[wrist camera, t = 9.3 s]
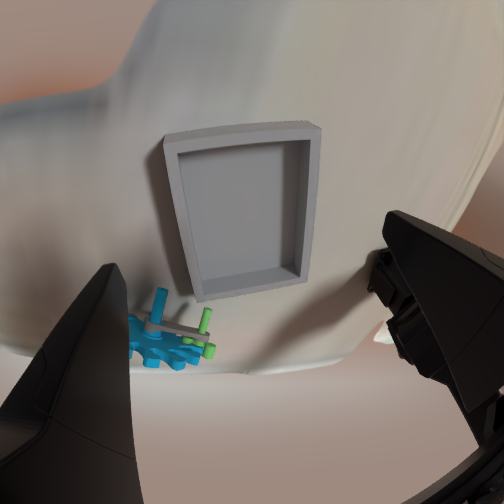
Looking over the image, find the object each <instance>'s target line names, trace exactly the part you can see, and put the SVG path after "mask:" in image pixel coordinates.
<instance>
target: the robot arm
mask: <svg viewBox="0 0 504 504" xmlns="http://www.w3.org/2000/svg"><path fill="white" fill-rule="evenodd" d="M382 235H383V238H384V240H385V242H386V244H387V246H388V248H389V249H386V250H382V251H380V252H379V253H378V256H377V259H376V263H375V266H374V269H373V272H372V275H371V279H370V282H369V285H368V288H367V290H368V292H369V293H371V292H375V293H376V294H377V296H378V297H379V299H380V300H381V302H382V303H383V305H384V306H385V307H389V309H390V310H391V312H392V313H393V315H394V316H393V317H392V318H391V319H389V320H388V321H387V322H386V323H387V325H388V330H389V332H390V334H391V336H392V338H393V341H394V343H395V345H396V347H397V351H398V355H399V357H400V358H401V359H405V360H406V361H407V362H408V363H409V364H411V365H415V366H416V368H417V370H418V372H419V374H420V375H422V376H424V377H426V378H431V379H433V380H435V381H438V382H440V383H442V384H445V385H447V387H448V388H449V390H450V392H451V393H452V395H453V397H454V399H455V400H456V402H457V404H458V406H459V408H460V410H461V412H462V413H463V415H464V417H465V419H466V421H467V423H468V425H469V427H470V429H471V431H472V433H473V435H474V437H475V439H476V441H477V443H478V445H479V448H478V449H477V450H476V451H475V452H473V453H472V454H471V455H470V456H469V457H468V458H466V459H465V460H464V461H463V462H462V463H460V464H459V465H458V466H457V467H455V468H454V469H453V470H451V471H450V472H449V473H447V474H446V475H445V476H443V477H442V478H441V479H439V480H438V481H436V482H435V483H433V484H432V485H431V486H429V487H428V488H426V489H425V490H423V491H421V492H420V493H418V494H417V495H415V496H414V497H412V498H410V499H408V500H407V501H405V502H403V503H402V504H504V259H503V258H501V257H499V256H497V255H495V254H493V253H491V252H489V251H487V250H485V249H483V248H481V247H479V246H477V245H475V244H473V243H471V242H469V241H467V240H465V239H463V238H461V237H459V236H456V235H454V234H452V233H450V232H448V231H446V230H444V229H441V228H439V227H437V226H435V225H432V224H430V223H428V222H425V221H423V220H421V219H418V218H416V217H414V216H411V215H409V214H406V213H404V212H401V211H399V210H394V211H389V212H388V213H387V214H386V217H385V222H384V226H383V230H382ZM499 389H501V391H502V394H501V392H500V390H499ZM130 401H131V400H130V373H129V320H128V306H127V288H126V284H125V281H124V279H123V277H122V275H121V272H120V270H119V268H118V266H117V265H116V263H109V264H104V265H102V266H101V268H100V269H99V270H98V271H97V272H96V274H95V275H94V276H93V277H92V279H91V280H90V281H89V282H88V283H87V285H86V286H85V287H84V289H83V290H82V291H81V292H80V294H79V295H78V296H77V297H76V299H75V300H74V301H73V303H72V304H71V305H70V307H69V308H68V309H67V311H66V312H65V313H64V315H63V316H62V317H61V319H60V320H59V322H58V323H57V324H56V326H55V327H54V329H53V330H52V331H51V333H50V334H49V336H48V337H47V339H46V340H45V342H44V343H43V345H42V347H41V348H40V349H39V351H38V352H37V354H36V355H35V357H34V358H33V360H32V361H31V363H30V365H29V366H28V368H27V369H26V370H25V372H24V373H23V375H22V376H21V378H20V379H19V381H18V382H17V383H16V385H15V386H14V388H13V389H12V391H11V392H10V394H9V395H8V396H7V398H6V400H5V401H4V402H3V404H2V406H1V407H0V504H144V502H143V498H142V492H141V487H140V481H139V475H138V469H137V462H136V455H135V447H134V438H133V428H132V416H131V402H130ZM465 501H466V502H465Z"/></svg>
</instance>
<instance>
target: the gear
mask: <svg viewBox="0 0 504 504" xmlns="http://www.w3.org/2000/svg"><path fill="white" fill-rule="evenodd" d="M167 294H168V290H167V289H164V288H160V287H158V288H157V291H156V295H155V299H154V303H153V307H152V312H151V316H150V318H145V322H142V321H141V320H139V319H138V318H137V317H136V316H135V315H132V314H128V320H129V359H131V357H132V352H133V350H134V351H137V352H139V353H140V354H141V355H142V357H143V358H144V360H143V365H144V366H145V367H149V368H159V364H160V360H163V361H164V362H166V363H167V364H168V365H169V366H170V367H171V368H172V369H174V370H176V371H179V370H182V369H184V368H185V365H186V362H188V363H189V364H192V365H196V366H197V365H198V363H199V359H200V356H202V357H204V358H206V359H212V358H213V355H214V352H215V348H216V345H214V344H212V343H207V342H208V339H209V336H210V334H209V333H208V332H207V331H206V329H207V326H208V322H209V319H210V315H211V312H212V309H210V308H204V311H203V314H202V318H201V321H200V325H199V328H198V329H197V328H192V327H188V326H183V325H179V324H175V323H170V322H166V321H162V320H161V318H162V314H163V310H164V306H165V302H166V298H167ZM176 334H179V335H182V336H176ZM203 347H204V348H203ZM203 349H204V350H203ZM202 352H203V354H202Z"/></svg>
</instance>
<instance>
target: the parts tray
mask: <svg viewBox="0 0 504 504" xmlns="http://www.w3.org/2000/svg"><path fill="white" fill-rule="evenodd" d="M321 130H322V128H320V127H318V126H316V125H314V124H312V123H310V122H309V121H286V122H267V123H253V124H241V125H231V126H222V127H214V128H206V129H199V130H192V131H186V132H180V133H174V134H168V135H165V138H164V142H163V148H164V154H165V160H166V166H167V171H168V177H169V182H170V188H171V193H172V198H173V203H174V208H175V213H176V217H177V222H178V227H179V231H180V236H181V240H182V245H183V249H184V253H185V258H186V262H187V266H188V270H189V274H190V278H191V282H192V286H193V290H194V294H195V298H196V301H197V303H199V302H205V301H211V300H217V299H223V298H228V297H234V296H239V295H245V294H250V293H255V292H260V291H266V290H271V289H276V288H281V287H286V286H291V285H295V284H300V283H305V282H307V280H308V273H309V265H310V257H311V249H312V240H313V231H314V221H315V211H316V201H317V190H318V177H319V164H320V148H321Z"/></svg>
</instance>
